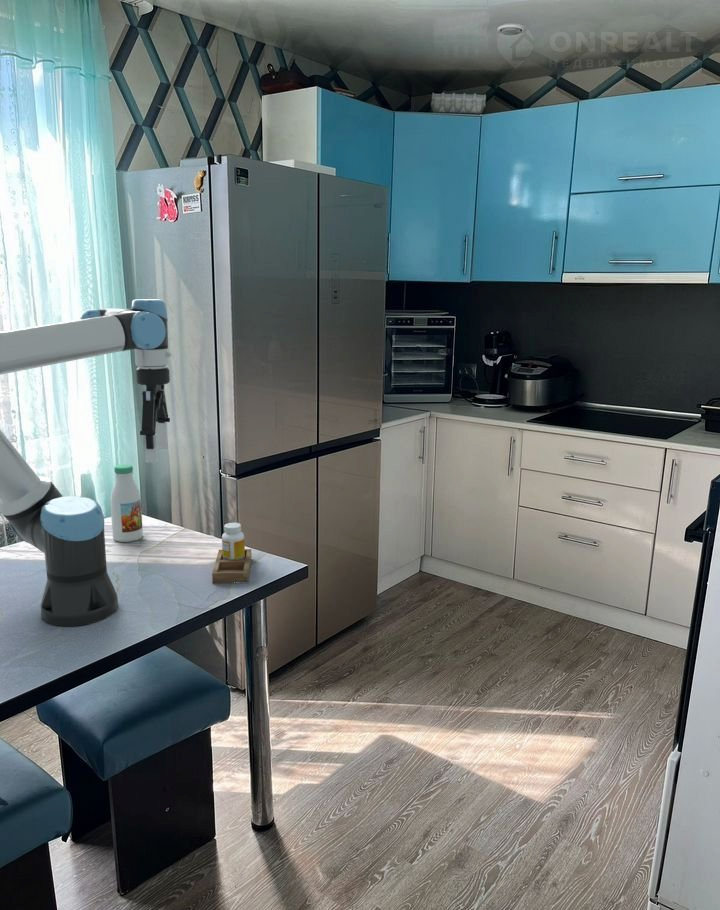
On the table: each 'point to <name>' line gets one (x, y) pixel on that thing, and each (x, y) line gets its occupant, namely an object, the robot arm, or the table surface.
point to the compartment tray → (231, 569)
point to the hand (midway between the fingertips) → (157, 455)
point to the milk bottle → (125, 506)
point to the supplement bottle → (233, 542)
